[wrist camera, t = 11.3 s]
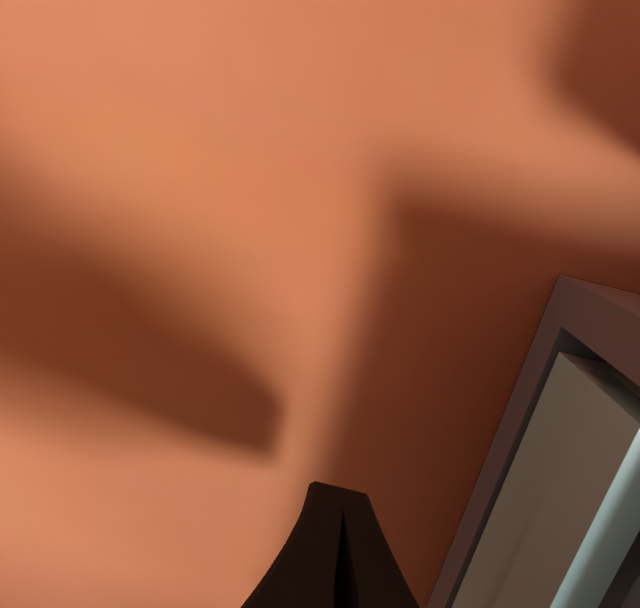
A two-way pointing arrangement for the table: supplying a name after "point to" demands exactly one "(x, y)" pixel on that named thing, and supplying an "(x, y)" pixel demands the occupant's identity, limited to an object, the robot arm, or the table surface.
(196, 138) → the table surface
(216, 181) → the table surface
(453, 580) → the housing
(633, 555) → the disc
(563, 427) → the tray
